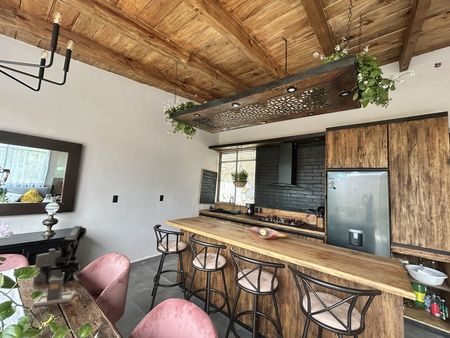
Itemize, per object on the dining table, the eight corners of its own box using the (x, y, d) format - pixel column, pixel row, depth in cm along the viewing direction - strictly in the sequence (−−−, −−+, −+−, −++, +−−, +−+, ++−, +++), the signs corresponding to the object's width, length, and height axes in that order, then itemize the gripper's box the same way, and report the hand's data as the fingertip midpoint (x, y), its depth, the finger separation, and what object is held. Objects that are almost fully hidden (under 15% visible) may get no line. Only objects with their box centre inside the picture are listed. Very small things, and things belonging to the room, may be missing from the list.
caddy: (49, 297, 119) (52, 275, 120) (61, 295, 121) (64, 274, 122) (46, 302, 114) (49, 279, 115) (58, 300, 116) (61, 278, 117)
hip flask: (33, 283, 134) (37, 252, 136) (32, 280, 137) (36, 250, 139) (63, 276, 146) (66, 247, 148) (62, 274, 149) (65, 246, 150)
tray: (40, 298, 118) (40, 295, 118) (74, 293, 125) (75, 290, 125) (33, 306, 110) (33, 303, 110) (70, 301, 117) (70, 298, 117)
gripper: (43, 251, 121) (32, 279, 110) (80, 249, 128) (73, 275, 117) (47, 260, 127) (37, 287, 116) (82, 257, 135) (76, 282, 124)
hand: (56, 282), depth 118 cm, fingers open, 9 cm apart
